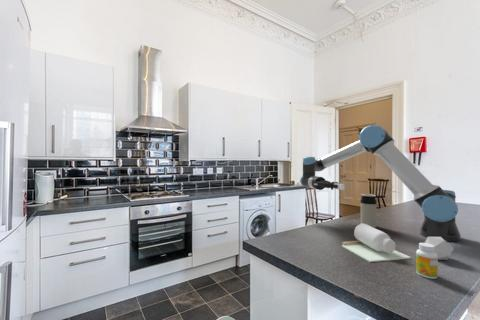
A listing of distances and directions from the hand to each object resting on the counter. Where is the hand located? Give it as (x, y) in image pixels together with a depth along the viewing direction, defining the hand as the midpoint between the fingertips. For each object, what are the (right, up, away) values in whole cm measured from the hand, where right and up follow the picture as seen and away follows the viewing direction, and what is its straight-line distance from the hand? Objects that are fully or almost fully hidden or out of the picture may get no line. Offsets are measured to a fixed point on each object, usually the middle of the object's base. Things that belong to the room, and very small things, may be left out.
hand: (343, 187), depth 111 cm
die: (+25, -24, -25) cm, 43 cm away
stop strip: (+2, -24, -11) cm, 26 cm away
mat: (+4, -24, -19) cm, 31 cm away
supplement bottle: (+10, -24, -38) cm, 46 cm away
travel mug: (+23, -25, +19) cm, 39 cm away
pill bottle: (+4, -19, -10) cm, 21 cm away
